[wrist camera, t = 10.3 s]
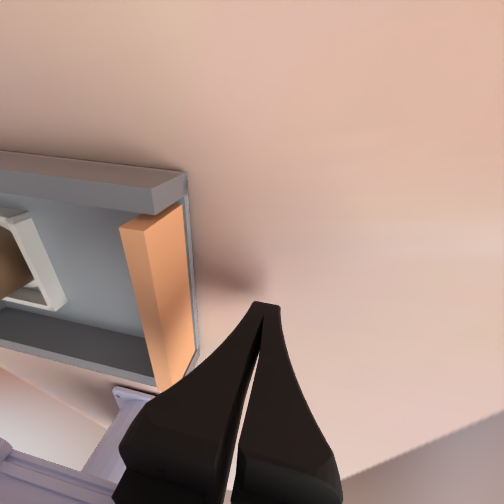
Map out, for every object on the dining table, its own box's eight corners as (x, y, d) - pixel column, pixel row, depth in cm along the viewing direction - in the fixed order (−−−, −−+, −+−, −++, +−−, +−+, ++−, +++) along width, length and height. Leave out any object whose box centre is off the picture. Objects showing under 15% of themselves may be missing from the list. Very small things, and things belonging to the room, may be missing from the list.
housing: (199, 354, 18) (181, 393, 15) (7, 310, 20) (-36, 337, 18) (186, 172, 11) (151, 189, 9) (-99, 138, 13) (-190, 144, 11)
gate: (195, 351, 16) (173, 394, 14) (181, 347, 17) (157, 390, 14) (182, 204, 11) (143, 231, 9) (162, 201, 11) (118, 227, 9)
